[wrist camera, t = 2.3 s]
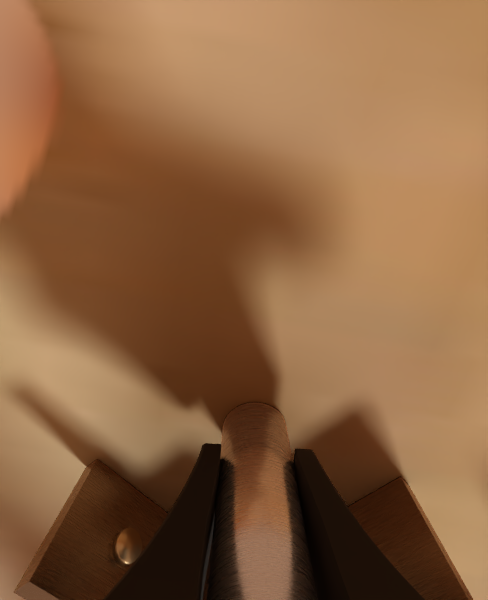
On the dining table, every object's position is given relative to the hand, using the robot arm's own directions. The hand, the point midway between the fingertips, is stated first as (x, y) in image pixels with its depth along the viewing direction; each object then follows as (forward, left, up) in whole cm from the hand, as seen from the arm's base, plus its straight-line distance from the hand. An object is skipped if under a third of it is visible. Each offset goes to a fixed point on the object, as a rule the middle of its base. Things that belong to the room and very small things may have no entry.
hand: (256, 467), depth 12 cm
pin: (0, 0, -2) cm, 2 cm away
